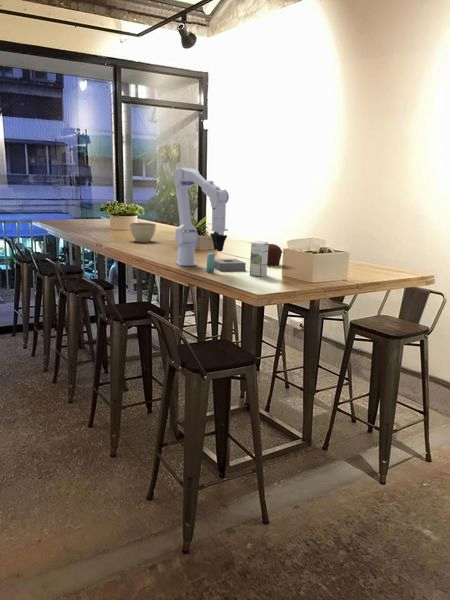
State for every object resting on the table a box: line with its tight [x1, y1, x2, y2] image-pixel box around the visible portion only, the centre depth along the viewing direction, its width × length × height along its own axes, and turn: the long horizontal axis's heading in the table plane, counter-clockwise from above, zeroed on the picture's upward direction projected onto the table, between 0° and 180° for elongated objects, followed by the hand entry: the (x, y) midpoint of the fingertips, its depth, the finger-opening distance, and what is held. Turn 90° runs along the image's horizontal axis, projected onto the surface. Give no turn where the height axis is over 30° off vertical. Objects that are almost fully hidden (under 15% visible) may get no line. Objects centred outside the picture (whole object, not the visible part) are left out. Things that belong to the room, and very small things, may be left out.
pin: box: [206, 252, 216, 274], centre depth 227 cm, size 3×3×8 cm
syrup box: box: [249, 240, 269, 278], centre depth 223 cm, size 6×6×14 cm
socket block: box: [214, 258, 246, 272], centre depth 238 cm, size 12×12×4 cm
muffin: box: [267, 243, 283, 267], centre depth 253 cm, size 12×11×10 cm
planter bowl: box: [129, 222, 157, 243], centre depth 324 cm, size 16×16×11 cm
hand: (218, 250), depth 225 cm, fingers open, 7 cm apart
